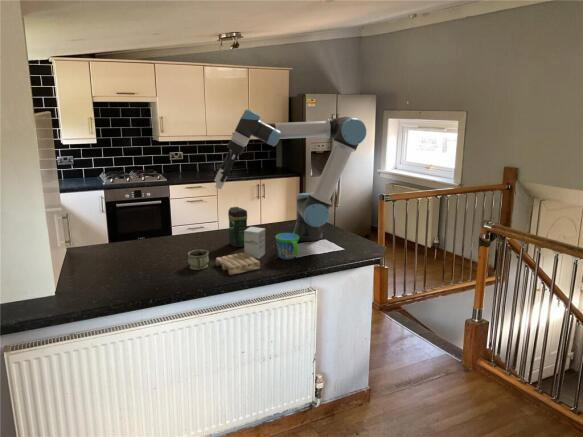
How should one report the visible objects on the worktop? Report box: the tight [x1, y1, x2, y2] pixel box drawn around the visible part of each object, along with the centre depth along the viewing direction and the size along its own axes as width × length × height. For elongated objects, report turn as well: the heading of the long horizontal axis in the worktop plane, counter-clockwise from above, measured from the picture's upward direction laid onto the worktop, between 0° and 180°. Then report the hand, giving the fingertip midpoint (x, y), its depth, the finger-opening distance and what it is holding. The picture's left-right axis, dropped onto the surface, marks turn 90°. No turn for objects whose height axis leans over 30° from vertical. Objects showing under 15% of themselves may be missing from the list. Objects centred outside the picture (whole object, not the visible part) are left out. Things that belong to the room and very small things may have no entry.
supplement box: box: [243, 226, 266, 260], centre depth 211 cm, size 7×7×13 cm
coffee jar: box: [227, 206, 248, 248], centre depth 225 cm, size 10×8×19 cm
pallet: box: [215, 252, 261, 276], centre depth 198 cm, size 14×14×3 cm
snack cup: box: [274, 232, 300, 261], centre depth 209 cm, size 16×10×10 cm
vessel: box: [187, 249, 210, 271], centre depth 198 cm, size 12×9×6 cm
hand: (217, 185), depth 212 cm, fingers open, 13 cm apart
